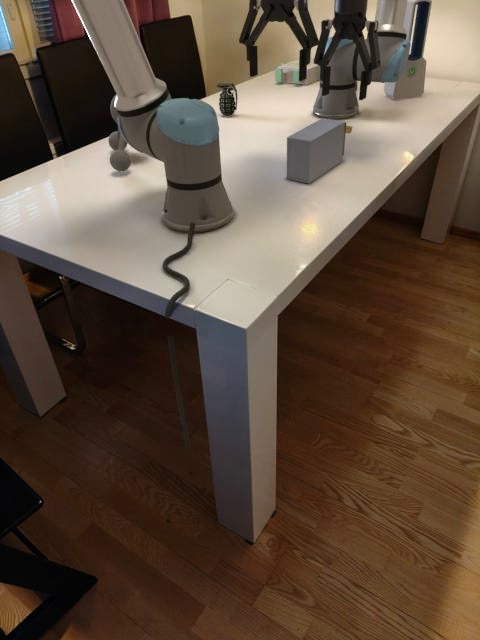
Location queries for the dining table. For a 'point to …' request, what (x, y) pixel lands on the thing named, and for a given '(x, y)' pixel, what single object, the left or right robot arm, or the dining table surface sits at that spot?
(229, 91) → the grenade
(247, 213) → the dining table surface
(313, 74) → the decorative block
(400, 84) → the electronic device
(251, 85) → the dining table surface
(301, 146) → the cabinet
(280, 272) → the dining table surface
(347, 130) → the drawer
